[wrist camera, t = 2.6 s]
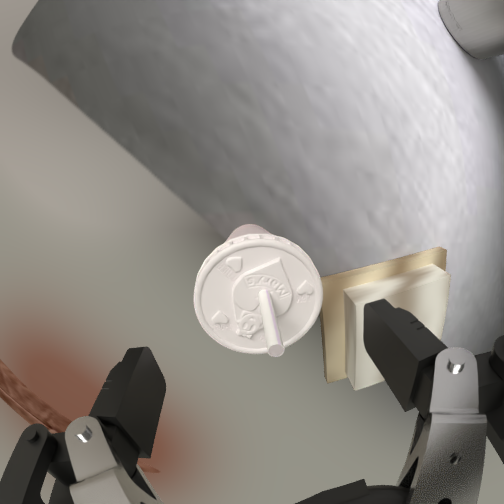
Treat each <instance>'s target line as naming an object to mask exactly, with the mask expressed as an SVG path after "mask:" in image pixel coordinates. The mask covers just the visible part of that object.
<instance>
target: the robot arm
mask: <svg viewBox="0 0 504 504" xmlns="http://www.w3.org/2000/svg"><path fill="white" fill-rule="evenodd" d="M438 8H439V13H440V15H441V18H442V20H443V22H444V24H445V25H446V27H447V29H448V30H449V32H450V33H451V35H452V36H453V37H454V39H455V40H456V41H457V42H458V43H459V45H460V46H461V47H462V48H463V49H464V50H465V51H466V52H468V53H469V54H470V55H472V56H473V57H475V58H477V59H487V58H491V57H495V56H499V55H503V54H504V0H439V2H438ZM363 342H364V346H365V349H366V352H367V353H368V355H369V357H370V358H371V360H372V361H373V363H374V364H375V366H376V367H377V369H378V370H379V372H380V373H381V375H382V376H383V378H384V379H385V381H386V382H387V384H388V385H389V387H390V389H391V390H392V392H393V393H394V395H395V397H396V398H397V400H398V401H399V403H400V404H401V406H402V408H403V409H404V411H405V412H406V411H409V410H411V409H413V408H415V407H416V408H417V409H418V411H419V414H418V417H417V421H416V426H415V430H414V434H413V438H412V442H411V445H410V449H409V452H408V456H407V459H406V462H405V465H404V467H403V469H402V471H401V474H400V476H399V479H398V481H397V484H396V486H392V485H376V486H367V485H366V483H365V480H364V479H362V480H359V481H356V482H353V483H350V484H347V485H343V486H340V487H337V488H333V489H330V490H326V491H322V492H320V493H318V494H316V495H314V496H312V497H310V498H307V499H305V500H303V501H300V502H298V503H295V504H477V501H478V496H479V491H480V486H481V480H482V474H483V467H484V459H485V449H486V436H487V437H488V439H489V440H490V442H491V444H492V445H493V447H494V448H495V450H496V452H497V453H498V455H499V457H500V458H501V460H502V462H503V464H504V335H503V336H500V337H499V338H497V340H496V341H495V343H494V346H493V349H492V351H490V352H486V353H483V354H479V355H473V354H472V353H471V352H470V351H468V350H466V349H463V348H459V347H452V348H448V347H447V346H446V345H445V344H443V343H442V342H441V341H440V340H439V339H438V338H437V337H436V336H435V335H434V334H433V333H432V332H431V331H430V330H429V329H428V328H427V327H425V325H424V324H423V323H422V322H420V321H418V319H417V318H416V317H415V316H414V315H413V314H412V313H411V312H409V311H407V310H404V309H402V308H400V307H398V308H394V307H393V306H392V305H391V304H390V303H389V302H388V301H387V300H386V299H380V300H376V301H373V302H370V303H366V304H365V305H364V321H363ZM165 393H166V383H165V379H164V376H163V374H162V372H161V370H160V368H159V366H158V364H157V362H156V360H155V358H154V356H153V354H152V352H151V350H150V349H149V348H148V347H138V348H129V349H128V350H127V352H126V354H125V356H124V358H123V360H122V362H119V363H118V364H117V365H116V366H115V367H114V368H113V369H112V370H111V371H110V373H109V375H108V377H107V379H106V382H105V383H104V385H103V387H102V390H101V391H100V393H99V395H98V397H97V399H96V401H95V403H94V405H93V407H92V409H91V412H90V414H89V416H85V417H80V418H78V419H76V420H74V421H73V422H72V423H71V424H70V425H69V426H68V427H67V429H66V432H62V433H55V434H51V433H50V432H49V431H48V430H47V428H46V427H45V426H44V425H42V424H33V425H30V426H29V427H27V428H26V429H25V430H24V431H23V433H22V435H21V437H20V439H19V441H18V443H17V445H16V447H15V449H14V451H13V453H12V456H11V458H10V460H9V462H8V464H7V467H6V469H5V471H4V474H3V477H2V479H1V481H0V504H45V503H44V502H43V501H42V499H41V496H40V492H41V488H42V485H43V482H44V479H45V476H46V473H47V472H48V473H50V474H51V475H52V476H53V477H54V478H56V480H55V483H54V487H53V490H52V493H51V497H50V500H49V504H164V503H163V502H162V501H161V499H160V498H159V496H158V495H157V493H156V492H155V490H154V489H153V488H152V486H151V484H150V483H149V481H148V480H147V478H146V477H145V475H144V473H143V472H142V470H141V468H140V467H139V466H138V465H137V461H138V458H151V453H152V448H153V444H154V439H155V434H156V430H157V426H158V422H159V417H160V413H161V409H162V405H163V401H164V397H165Z"/></svg>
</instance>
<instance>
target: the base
mask: <svg viewBox="0 0 504 504" xmlns="http://www.w3.org/2000/svg"><path fill="white" fill-rule="evenodd" d="M446 253H447V250H446V249H444V248H442V247H436V248H433V249H429V250H426V251H422V252H419V253H415V254H412V255H408V256H404V257H401V258H397V259H393V260H389V261H386V262H382V263H378V264H374V265H370V266H366V267H362V268H358V269H354V270H350V271H346V272H342V273H338V274H334V275H330V276H325V277H321V282H322V287H323V301H322V306H321V310H320V321H321V332H322V345H323V358H324V373H325V378H326V381H327V383H331V382H334V381H338V380H341V379H345V378H348V379H349V381H350V383H351V385H352V387H353V389H354V391H356V390H359V389H362V388H365V387H368V386H371V385H374V384H377V383H379V382H382V381H385V379H384V378H383V376H382V375H381V373H380V372H379V370H378V369H377V367H376V366H375V364H374V363H373V361H372V360H371V358H370V357H369V355H368V353H367V352H366V349H365V346H364V342H363V321H364V305H365V304H366V303H370V302H373V301H376V300H380V299H386V300H387V301H388V302H389V303H390V304H391V305H392V306H393V307H394V308H398V307H400V308H402V309H404V310H407V311H409V312H411V313H412V314H413V315H414V316H415V317H416V318H417V319H418V321H420V322H422V323H423V324H424V325H425V327H427V328H428V329H429V330H430V331H431V332H432V333H433V334H434V335H435V336H436V337H437V338H438V339H439V340H440V341H441V336H442V331H443V326H444V321H445V315H446V309H447V302H448V295H449V287H450V278H451V275H450V274H449V273H447V272H445V269H446Z"/></svg>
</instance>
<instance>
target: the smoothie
mask: <svg viewBox="0 0 504 504" xmlns="http://www.w3.org/2000/svg"><path fill="white" fill-rule="evenodd" d="M322 301H323V287H322V282H321V278H320V276H319V273H318V271H317V269H316V267H315V266H314V264H313V262H312V260H311V259H310V257H309V256H308V255H307V254H306V253H305V252H304V251H303V250H302V249H301V248H300V247H299V246H298V245H296V244H294V243H293V242H291V241H289V240H287V239H285V238H283V237H279V236H275V235H272V234H271V233H269V232H268V231H267V230H265V229H264V228H262V227H260V226H258V225H254V224H246V225H242V226H240V227H238V228H236V229H235V230H234V231H233V232H232V233H231V235H230V236H229V238H228V239H227V240H226V242H225V243H224V244H222V245H220V246H219V247H217V248H216V249H215V250H214V251H213V252H212V253H211V254H210V255H209V256H208V257H207V258H206V259H205V261H204V263H203V264H202V266H201V268H200V270H199V272H198V274H197V279H196V284H195V289H194V307H195V312H196V315H197V318H198V320H199V322H200V324H201V326H202V327H203V329H204V330H205V331H206V332H207V334H208V335H209V336H210V337H211V338H213V339H214V340H215V341H216V342H218V343H219V344H221V345H223V346H224V347H226V348H229V349H231V350H234V351H237V352H242V353H247V354H264V353H268V354H269V355H270V356H272V357H278V356H281V355H282V354H283V353H284V348H286V347H288V346H290V345H291V344H293V343H295V342H296V341H298V340H299V339H300V338H302V337H303V336H304V335H305V334H306V333H307V332H308V331H309V330H310V328H311V327H312V326H313V324H314V323H315V321H316V319H317V317H318V315H319V313H320V310H321V306H322Z"/></svg>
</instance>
